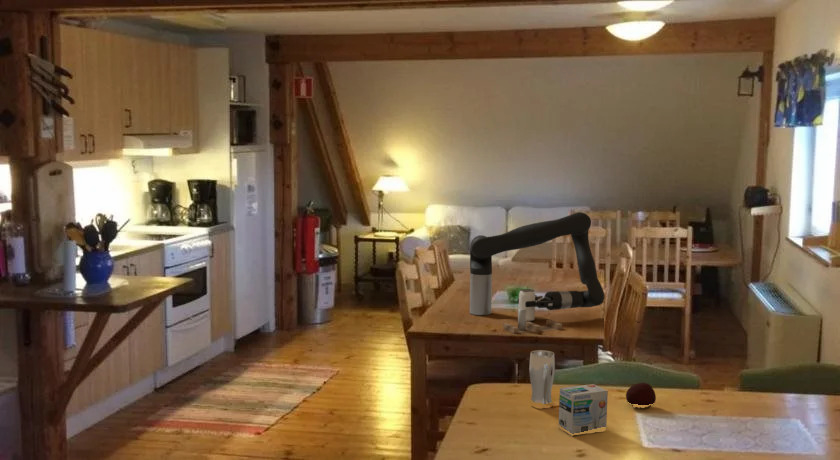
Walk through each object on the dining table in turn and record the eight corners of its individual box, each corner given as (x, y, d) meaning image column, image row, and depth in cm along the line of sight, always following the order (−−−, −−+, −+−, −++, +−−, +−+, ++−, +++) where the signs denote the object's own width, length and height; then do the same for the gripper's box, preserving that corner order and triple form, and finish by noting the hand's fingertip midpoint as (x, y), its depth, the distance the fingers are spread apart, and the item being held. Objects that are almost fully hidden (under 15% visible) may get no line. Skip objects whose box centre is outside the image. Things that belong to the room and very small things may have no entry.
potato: (619, 405, 235) (620, 381, 234) (644, 402, 238) (645, 378, 237) (636, 413, 228) (637, 388, 227) (661, 409, 231) (662, 385, 231)
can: (533, 321, 336) (534, 292, 334) (517, 320, 337) (518, 291, 336) (535, 318, 342) (535, 289, 341) (519, 317, 343) (519, 288, 342)
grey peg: (516, 329, 325) (516, 309, 324) (523, 328, 326) (523, 308, 325) (520, 331, 322) (520, 310, 321) (527, 330, 323) (527, 309, 322)
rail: (502, 331, 326) (503, 323, 326) (550, 327, 334) (550, 319, 333) (513, 336, 318) (513, 328, 317) (562, 331, 325) (562, 324, 325)
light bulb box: (572, 437, 209) (573, 395, 208) (557, 428, 216) (558, 387, 214) (607, 431, 214) (609, 390, 212) (592, 423, 220) (593, 383, 219)
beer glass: (538, 411, 229) (539, 357, 228) (523, 404, 235) (524, 351, 234) (558, 407, 233) (560, 354, 231) (544, 400, 239) (545, 348, 237)
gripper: (549, 288, 350) (513, 290, 344) (567, 294, 337) (530, 296, 331) (548, 306, 351) (513, 308, 345) (567, 312, 337) (530, 315, 331)
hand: (522, 302), depth 338 cm, fingers closed on can, 6 cm apart
